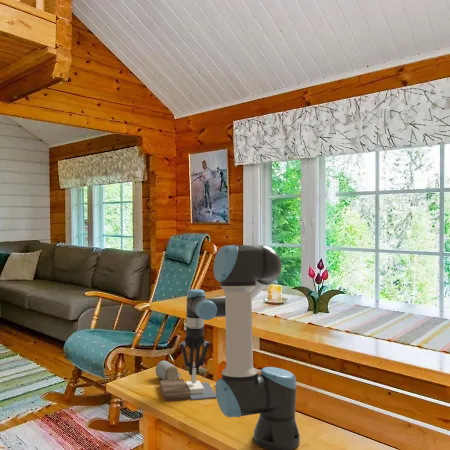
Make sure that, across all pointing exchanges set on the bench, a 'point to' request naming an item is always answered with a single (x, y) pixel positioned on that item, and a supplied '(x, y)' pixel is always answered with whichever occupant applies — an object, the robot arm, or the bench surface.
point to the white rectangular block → (195, 387)
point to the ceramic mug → (166, 371)
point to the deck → (174, 390)
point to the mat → (206, 395)
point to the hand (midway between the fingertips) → (193, 382)
